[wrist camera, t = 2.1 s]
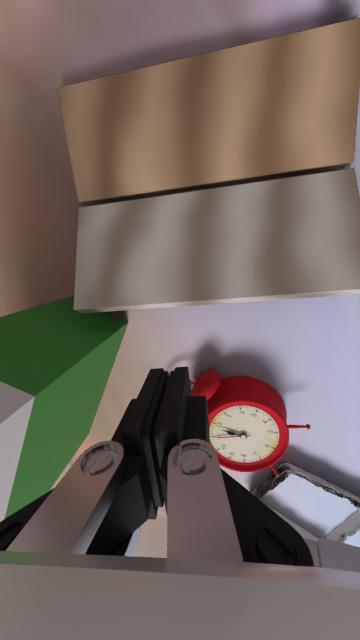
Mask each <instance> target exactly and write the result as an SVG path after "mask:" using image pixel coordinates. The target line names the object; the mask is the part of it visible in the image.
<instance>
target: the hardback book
mask: <svg viewBox="0 0 360 640" xmlns="http://www.w3.org/2000/svg"><path fill="white" fill-rule="evenodd" d="M127 324H128V322H127V321H124V320H122V319H120V318H117V317H115V316H113V315H111V314H108V313H106V312H94V313H81V312H78V311H75V310H74V298H72V297H69V298H65V299H62V300H58V301H55V302H51V303H48V304H44V305H41V306H38V307H34V308H31V309H27V310H24V311H20V312H17V313H13V314H10V315H7V316H3V317H0V522H1V521H2V520H4V519H5V518H7V517H8V516H10V515H12V514H13V513H15V512H16V511H18V510H20V509H21V508H23V507H25V506H26V505H28V504H29V503H31V502H33V501H34V500H36V499H37V498H39V497H41V496H42V495H44V494H45V493H47V492H49V490H50V489H51V487H52V486H53V485H54V483H55V482H56V480H57V478H58V477H59V476H60V474H61V473H62V472H63V470H64V469H65V467H66V466H67V464H68V463H69V461H70V460H71V459H72V457H73V456H74V454H75V453H76V451H77V450H78V448H79V447H80V446H81V444H82V443H83V441H84V440H85V438H86V437H87V435H88V434H89V431H90V428H91V426H92V423H93V420H94V417H95V414H96V412H97V409H98V406H99V403H100V400H101V397H102V395H103V392H104V389H105V386H106V383H107V381H108V378H109V375H110V372H111V369H112V367H113V364H114V361H115V358H116V355H117V353H118V350H119V347H120V344H121V341H122V338H123V336H124V333H125V330H126V327H127Z"/></svg>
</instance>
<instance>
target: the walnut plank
mask: <svg viewBox="0 0 360 640" xmlns="http://www.w3.org/2000/svg"><path fill="white" fill-rule="evenodd" d="M359 87H360V18H357V19H353V20H349V21H344V22H340V23H336V24H331V25H327V26H323V27H318V28H314V29H310V30H305V31H301V32H297V33H292V34H288V35H284V36H279V37H275V38H271V39H266V40H262V41H258V42H253V43H249V44H245V45H240V46H236V47H232V48H227V49H223V50H219V51H214V52H210V53H206V54H201V55H197V56H193V57H188V58H184V59H180V60H175V61H171V62H167V63H163V64H158V65H154V66H150V67H145V68H141V69H137V70H132V71H128V72H124V73H119V74H115V75H111V76H106V77H102V78H98V79H93V80H89V81H85V82H80V83H76V84H72V85H67V86H63V87H59V88H57V93H58V98H59V103H60V109H61V114H62V119H63V124H64V130H65V135H66V140H67V146H68V151H69V156H70V161H71V167H72V172H73V177H74V183H75V188H76V193H77V198H78V202H79V203H82V204H84V205H92V204H99V203H105V202H112V201H119V200H126V199H133V198H140V197H147V196H154V195H161V194H168V193H175V192H181V191H188V190H195V189H202V188H209V187H216V186H223V185H230V184H237V183H244V182H251V181H257V180H264V179H271V178H278V177H285V176H292V175H299V174H306V173H313V172H320V171H327V170H333V169H340V168H344V167H346V166H347V165H349V164H350V163H352V162H353V161H354V150H355V138H356V125H357V113H358V100H359Z"/></svg>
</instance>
